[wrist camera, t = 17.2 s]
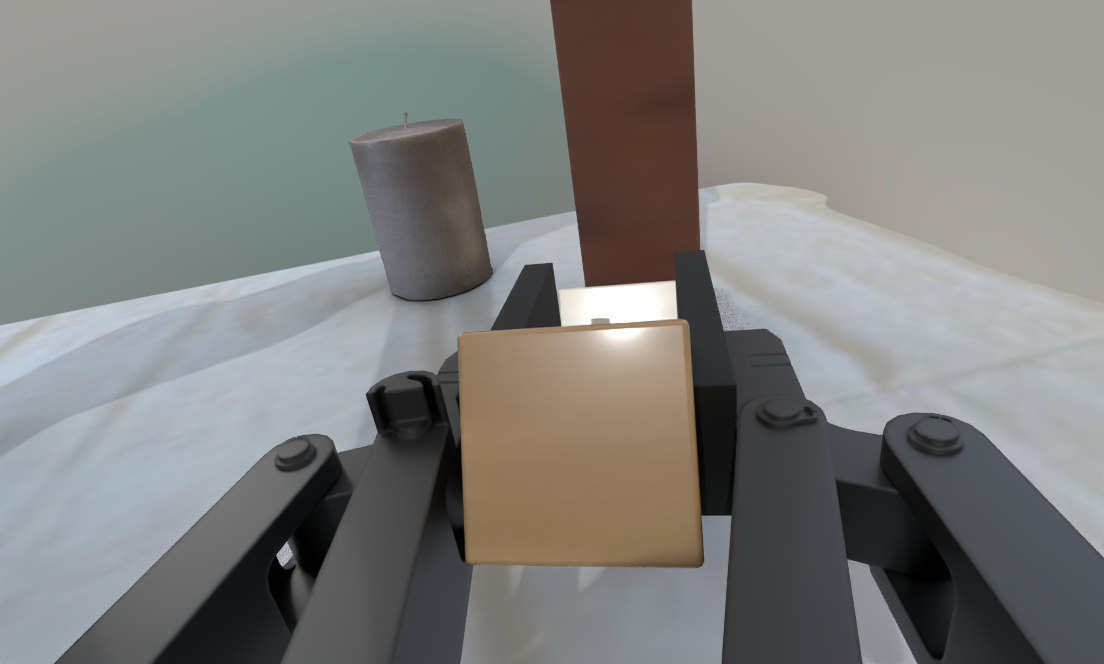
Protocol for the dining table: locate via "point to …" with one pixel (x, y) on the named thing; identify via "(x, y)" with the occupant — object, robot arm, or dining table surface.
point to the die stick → (583, 436)
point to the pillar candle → (424, 207)
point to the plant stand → (630, 134)
